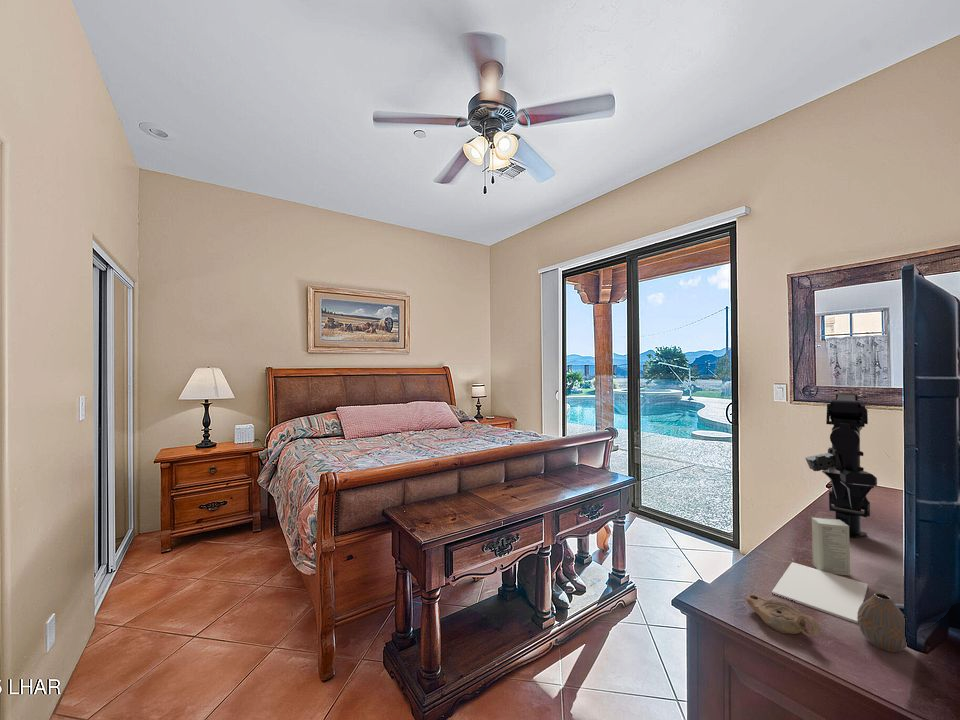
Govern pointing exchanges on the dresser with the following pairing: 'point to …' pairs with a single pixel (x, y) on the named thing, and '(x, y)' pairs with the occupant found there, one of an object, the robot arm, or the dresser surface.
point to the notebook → (822, 591)
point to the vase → (882, 623)
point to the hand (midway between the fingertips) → (846, 503)
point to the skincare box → (831, 546)
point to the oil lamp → (782, 616)
